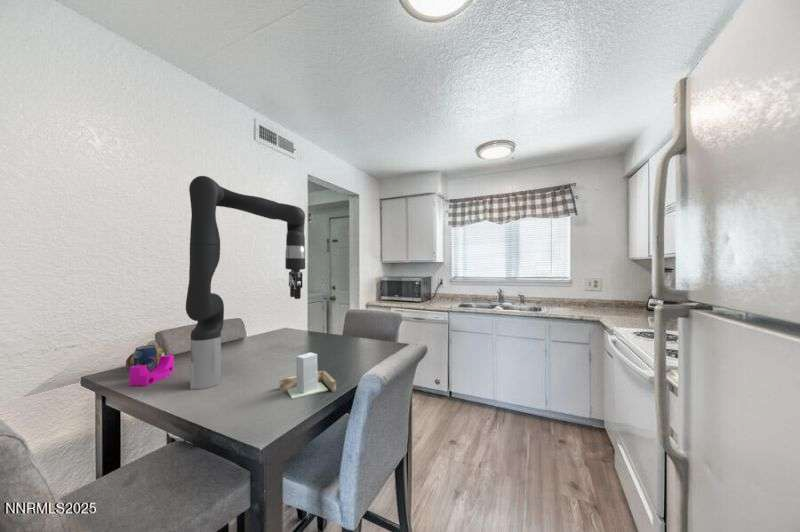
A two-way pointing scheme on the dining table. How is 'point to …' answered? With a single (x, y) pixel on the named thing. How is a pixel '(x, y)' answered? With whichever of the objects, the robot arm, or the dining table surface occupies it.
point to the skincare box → (306, 372)
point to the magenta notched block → (144, 377)
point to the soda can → (146, 357)
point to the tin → (130, 359)
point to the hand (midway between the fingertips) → (295, 297)
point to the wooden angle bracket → (322, 376)
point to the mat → (297, 394)
